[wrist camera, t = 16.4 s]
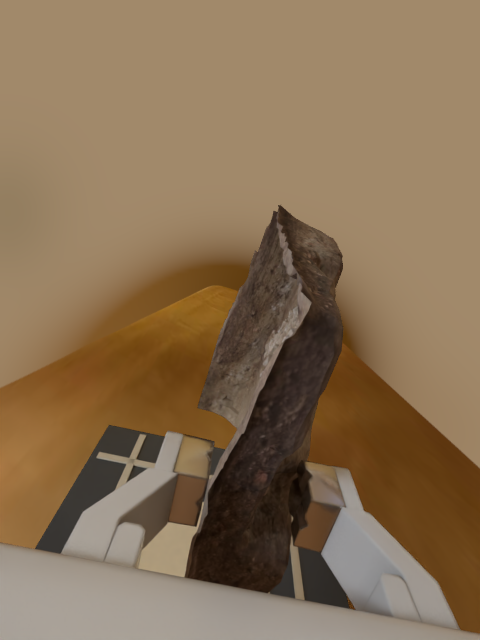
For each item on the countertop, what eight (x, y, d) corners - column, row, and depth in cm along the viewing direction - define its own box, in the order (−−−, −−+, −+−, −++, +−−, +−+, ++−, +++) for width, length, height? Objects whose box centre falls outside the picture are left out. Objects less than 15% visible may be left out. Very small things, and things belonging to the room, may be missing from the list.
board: (-136, 862, 11) (-144, 840, 11) (107, 438, 30) (109, 422, 29) (405, 937, 12) (426, 922, 11) (311, 481, 31) (317, 466, 30)
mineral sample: (197, 402, 27) (261, 201, 22) (248, 417, 27) (323, 222, 22) (115, 706, 11) (282, 226, 6) (240, 734, 11) (501, 299, 6)
